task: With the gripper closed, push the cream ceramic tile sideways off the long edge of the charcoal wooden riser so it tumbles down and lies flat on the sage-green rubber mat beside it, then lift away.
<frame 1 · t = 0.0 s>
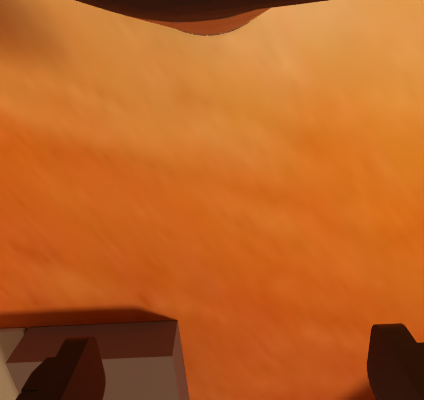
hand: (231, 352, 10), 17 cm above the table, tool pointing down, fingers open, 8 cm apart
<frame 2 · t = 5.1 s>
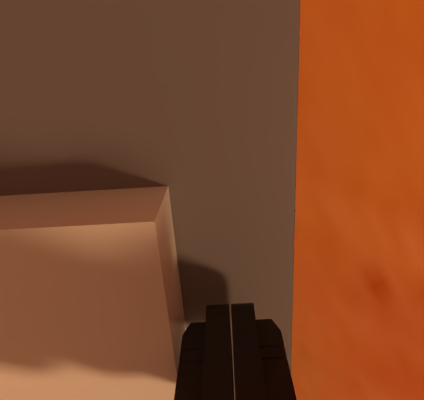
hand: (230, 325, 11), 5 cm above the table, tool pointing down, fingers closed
tile: (83, 312, 12), point 4 cm above the table, touching gripper, riser
riser: (120, 252, 16), on the table
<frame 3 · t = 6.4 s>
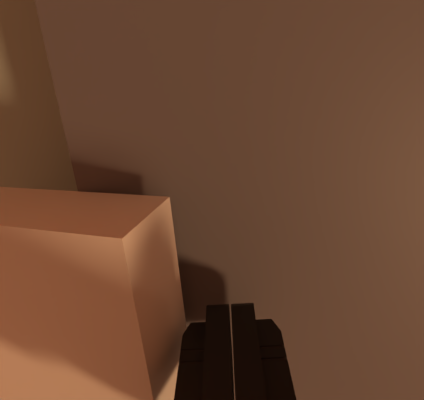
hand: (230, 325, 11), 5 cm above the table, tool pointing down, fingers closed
tile: (95, 309, 12), point 4 cm above the table, tilted 18°, touching riser
riser: (286, 241, 16), on the table
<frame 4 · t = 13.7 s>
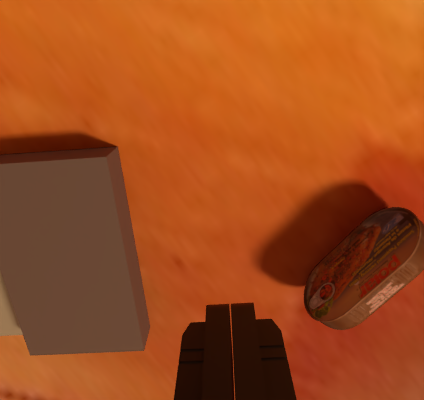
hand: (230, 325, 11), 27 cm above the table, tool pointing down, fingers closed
tin: (349, 248, 41), on the table
riser: (77, 249, 42), on the table
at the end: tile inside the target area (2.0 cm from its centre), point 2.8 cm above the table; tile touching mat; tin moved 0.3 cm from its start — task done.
